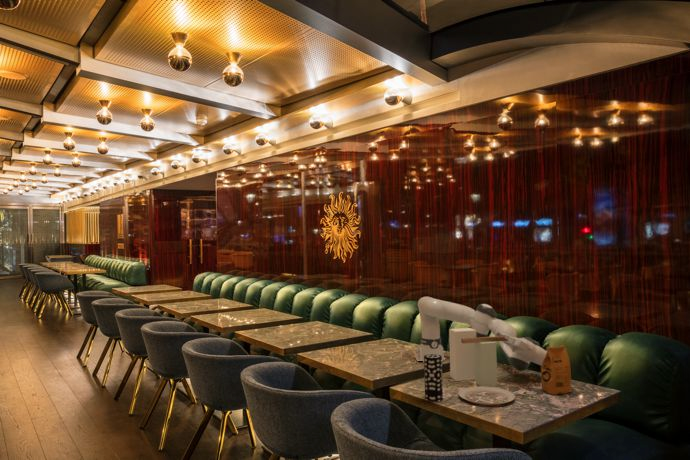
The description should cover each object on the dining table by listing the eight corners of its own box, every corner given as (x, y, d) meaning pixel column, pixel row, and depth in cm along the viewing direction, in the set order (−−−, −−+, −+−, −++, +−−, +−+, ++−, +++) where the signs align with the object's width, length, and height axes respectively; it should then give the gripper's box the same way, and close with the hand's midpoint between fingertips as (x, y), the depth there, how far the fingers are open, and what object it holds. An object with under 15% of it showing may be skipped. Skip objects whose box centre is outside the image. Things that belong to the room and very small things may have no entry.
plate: (448, 394, 239) (447, 390, 239) (491, 388, 248) (491, 384, 248) (479, 411, 215) (479, 406, 215) (527, 403, 224) (527, 398, 224)
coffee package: (538, 389, 243) (537, 344, 243) (560, 387, 246) (558, 343, 246) (552, 395, 233) (550, 349, 234) (574, 393, 236) (572, 347, 237)
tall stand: (450, 376, 269) (449, 329, 269) (471, 375, 271) (469, 327, 272) (456, 381, 261) (455, 331, 261) (477, 379, 263) (476, 330, 264)
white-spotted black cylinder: (421, 397, 234) (420, 355, 235) (436, 395, 238) (435, 353, 238) (431, 402, 227) (430, 359, 227) (446, 400, 230) (445, 357, 231)
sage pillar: (475, 383, 256) (474, 340, 257) (489, 381, 258) (488, 339, 258) (482, 387, 249) (481, 343, 249) (497, 386, 250) (496, 342, 251)
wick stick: (461, 342, 253) (461, 338, 253) (506, 339, 257) (506, 335, 257) (463, 343, 250) (463, 339, 250) (508, 340, 255) (508, 336, 255)
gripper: (530, 356, 247) (508, 344, 245) (510, 348, 267) (489, 336, 265) (536, 345, 248) (513, 333, 246) (515, 337, 268) (494, 326, 266)
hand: (500, 334), depth 255 cm, fingers open, 8 cm apart
